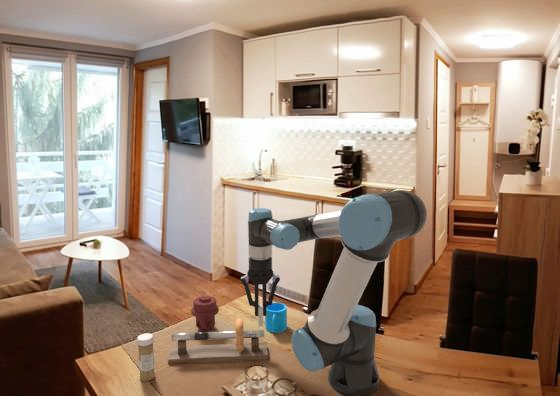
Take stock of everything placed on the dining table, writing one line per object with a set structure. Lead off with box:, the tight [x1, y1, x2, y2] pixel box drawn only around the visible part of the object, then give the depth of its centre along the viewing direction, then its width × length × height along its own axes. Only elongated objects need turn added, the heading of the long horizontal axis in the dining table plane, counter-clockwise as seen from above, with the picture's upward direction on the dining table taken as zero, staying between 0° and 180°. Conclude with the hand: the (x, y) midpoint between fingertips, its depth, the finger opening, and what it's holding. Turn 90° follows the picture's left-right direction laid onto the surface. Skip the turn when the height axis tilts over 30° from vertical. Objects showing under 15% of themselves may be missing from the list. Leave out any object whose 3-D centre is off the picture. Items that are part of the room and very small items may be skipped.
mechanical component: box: [191, 295, 220, 332], centre depth 161 cm, size 12×10×10 cm
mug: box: [264, 302, 288, 334], centre depth 161 cm, size 12×8×8 cm
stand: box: [167, 338, 269, 365], centre depth 144 cm, size 8×32×6 cm, turn 95°
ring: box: [235, 317, 245, 352], centre depth 144 cm, size 8×2×8 cm, turn 5°
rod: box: [171, 329, 265, 342], centre depth 143 cm, size 30×2×2 cm, turn 95°
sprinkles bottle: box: [136, 332, 156, 382], centre depth 131 cm, size 5×5×13 cm
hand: (260, 324), depth 144 cm, fingers closed
